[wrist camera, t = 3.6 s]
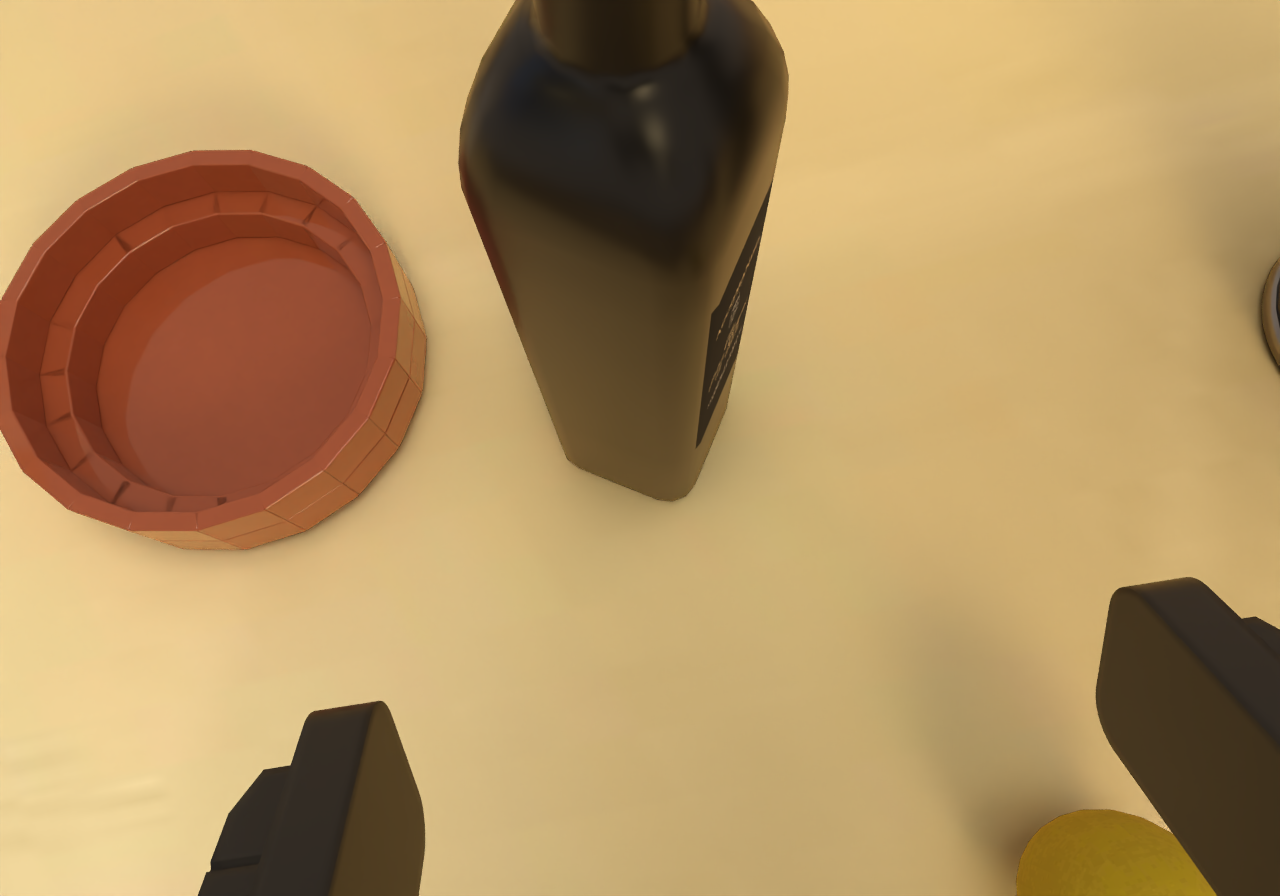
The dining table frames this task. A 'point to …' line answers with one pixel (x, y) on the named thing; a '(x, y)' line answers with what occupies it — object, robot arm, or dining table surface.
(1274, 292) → the robot arm
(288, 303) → the dish
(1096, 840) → the lemon
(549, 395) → the wine bottle
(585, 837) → the dining table surface
